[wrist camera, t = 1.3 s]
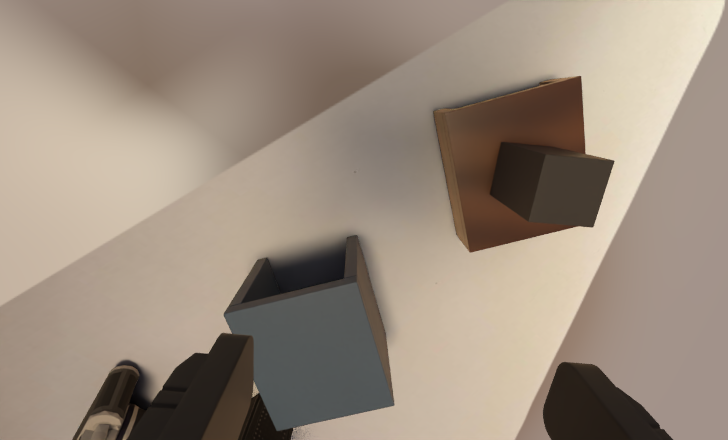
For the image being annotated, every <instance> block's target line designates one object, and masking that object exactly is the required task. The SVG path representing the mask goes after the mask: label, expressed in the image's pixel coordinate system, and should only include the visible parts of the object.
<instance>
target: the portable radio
mask: <svg viewBox="0 0 728 440" xmlns="http://www.w3.org/2000/svg"><path fill="white" fill-rule="evenodd" d="M292 431H293V428H289V429H285V430H280V431H277V430H276V428H275V426H274V424H273V421H272V419H271V417H270V415H269V413H268V410H267V408H266V406H265V404H264V402H263V400H262V397H261V395H260V394H258V395H256V396H255V397H254V398H252V399H251V402H250V406H249V410H248V412H247V415H246V418H245V421H244V424H243V426H242V429H241V432H240V435H239V437H238V440H290V439H291V435H292Z"/></svg>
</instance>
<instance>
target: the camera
mask: <svg viewBox="0 0 728 440" xmlns="http://www.w3.org/2000/svg"><path fill="white" fill-rule="evenodd" d="M139 376H140V375H139V372H138V370H137V369H135V368H134V367H132V366H125V365H123V366H118V367H115V368H114V369H112V370H111V371H110V373H109V375H108V377H107V378H106V380H105V382H104V384H103V386H102V387H101V389H100V391H99V393H98V394H97V396H96V398H95V400H94V402H93V403H92V405H91V407H90V409H89V411H88V412H87V414H86V416H85V418H84V419H83V421H82V423H81V425H80V427H79V428H78V430H77V432H76V434H75V435H74V437H73V439H72V440H126V439H127V438H128V437H129V435H130V434H131V432H132V431H133V429H134V428H135V426H136V425H137V423H138V422H139V421H140V419H141V418H142V416H143V415H144V413H145V412H146V410H143V409H140V408H139V407H137V406H136V405H135V404H130V403H129V401H130V398H131V396H132V393H133V390H134V387H135V385H136V382H137V380H138V378H139Z"/></svg>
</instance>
